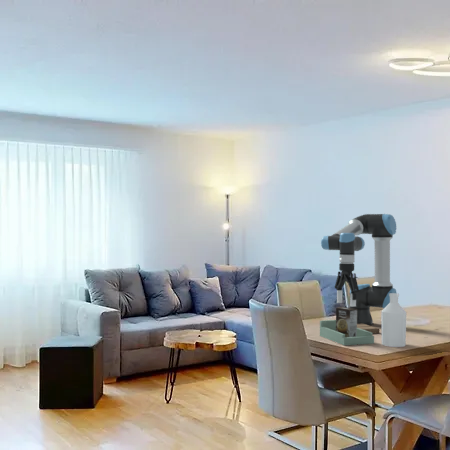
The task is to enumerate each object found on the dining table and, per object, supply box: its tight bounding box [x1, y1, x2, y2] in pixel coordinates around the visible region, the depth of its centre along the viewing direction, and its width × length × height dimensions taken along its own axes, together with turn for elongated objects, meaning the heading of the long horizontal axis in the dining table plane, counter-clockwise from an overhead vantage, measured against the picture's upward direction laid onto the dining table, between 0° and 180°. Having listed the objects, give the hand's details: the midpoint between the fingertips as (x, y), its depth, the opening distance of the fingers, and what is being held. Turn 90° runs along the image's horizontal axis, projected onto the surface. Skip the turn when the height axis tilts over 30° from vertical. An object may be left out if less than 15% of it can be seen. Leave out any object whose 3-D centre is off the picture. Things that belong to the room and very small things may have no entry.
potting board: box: [357, 324, 380, 334], centre depth 325 cm, size 16×16×2 cm
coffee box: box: [335, 306, 357, 337], centre depth 302 cm, size 9×6×16 cm
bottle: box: [381, 292, 407, 348], centre depth 291 cm, size 12×12×25 cm
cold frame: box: [319, 319, 375, 346], centre depth 302 cm, size 25×17×8 cm
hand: (346, 304), depth 302 cm, fingers open, 13 cm apart
